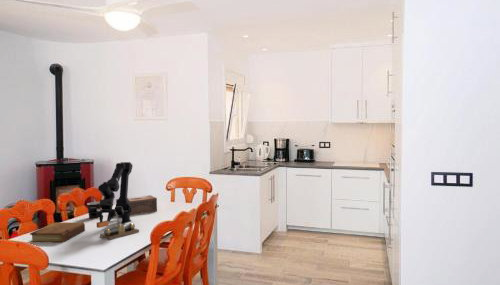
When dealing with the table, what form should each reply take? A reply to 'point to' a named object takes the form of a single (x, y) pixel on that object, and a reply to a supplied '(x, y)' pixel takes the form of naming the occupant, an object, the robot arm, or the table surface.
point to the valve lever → (108, 222)
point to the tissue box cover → (143, 204)
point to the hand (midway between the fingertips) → (103, 224)
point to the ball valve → (119, 231)
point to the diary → (57, 232)
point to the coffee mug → (93, 204)
